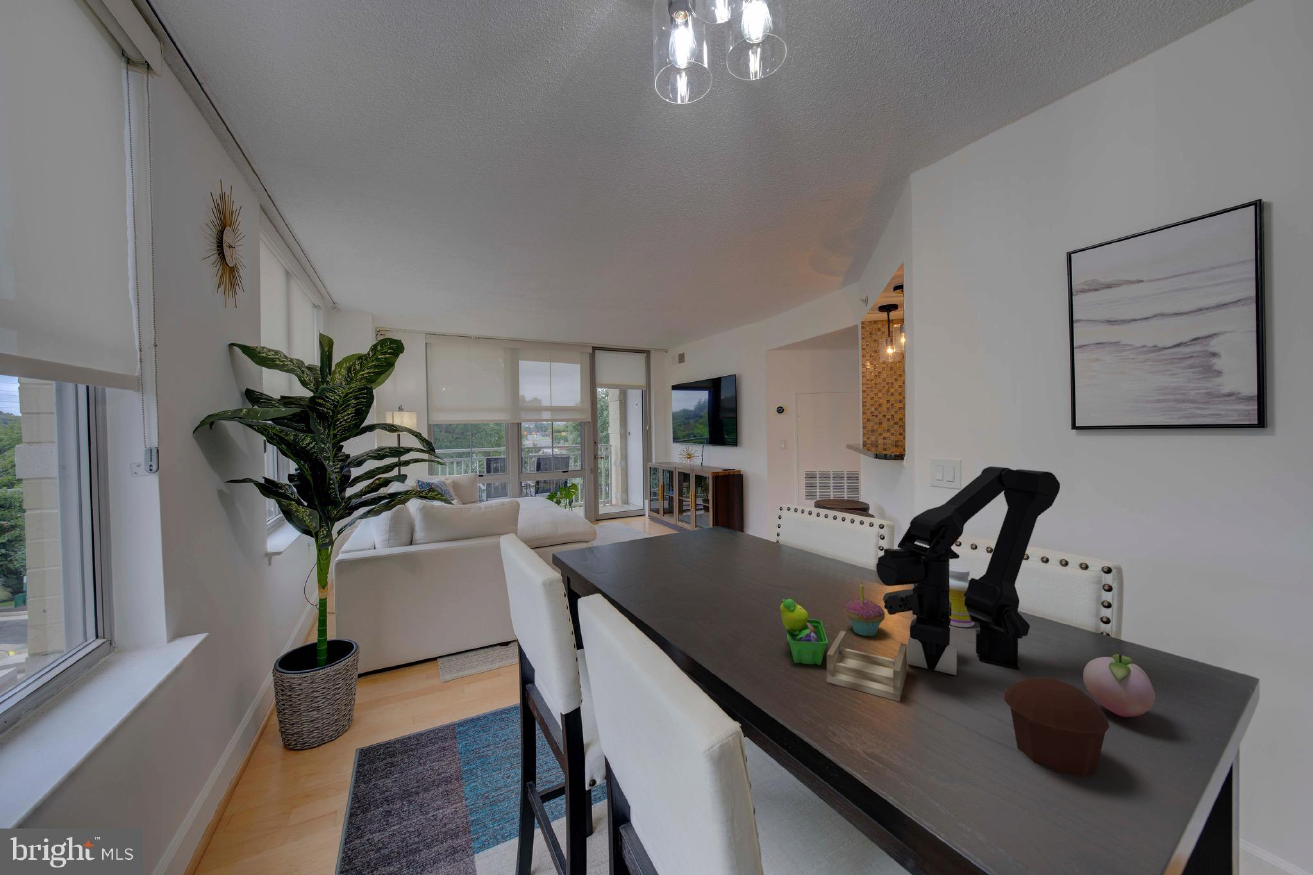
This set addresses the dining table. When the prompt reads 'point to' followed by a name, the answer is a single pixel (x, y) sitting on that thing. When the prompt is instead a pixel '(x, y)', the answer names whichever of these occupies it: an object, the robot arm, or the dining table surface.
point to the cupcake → (864, 615)
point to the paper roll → (918, 659)
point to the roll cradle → (866, 670)
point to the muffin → (1057, 725)
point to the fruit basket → (803, 634)
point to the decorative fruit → (1119, 685)
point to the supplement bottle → (959, 596)
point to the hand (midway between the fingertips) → (931, 661)
